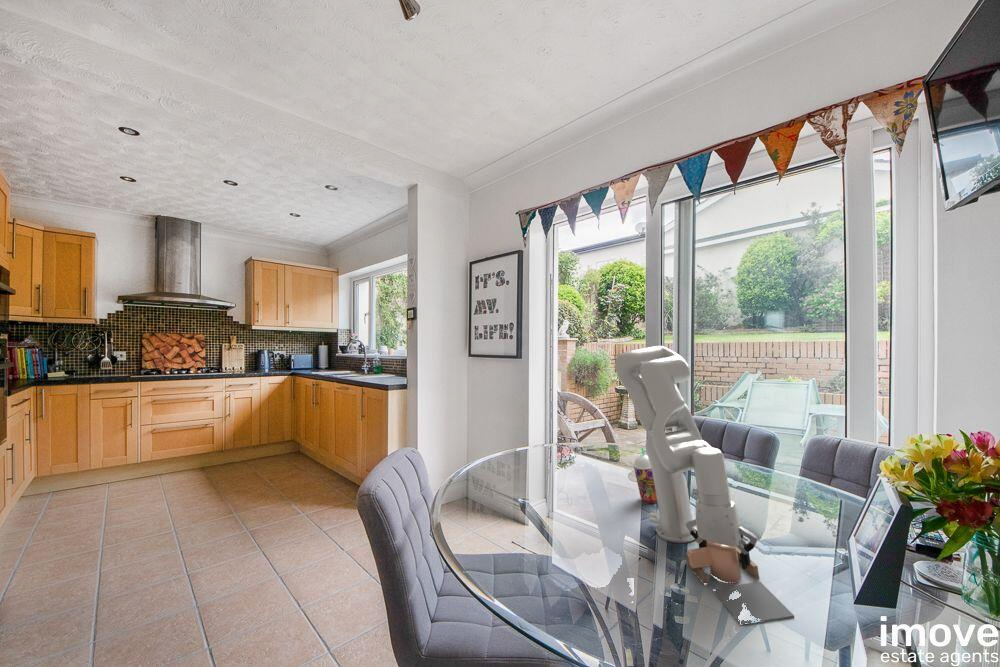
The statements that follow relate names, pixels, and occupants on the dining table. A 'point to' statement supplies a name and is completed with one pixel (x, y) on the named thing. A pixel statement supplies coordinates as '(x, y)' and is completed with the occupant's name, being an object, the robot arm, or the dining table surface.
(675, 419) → the robot arm
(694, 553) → the rounded block with tab
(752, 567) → the holder
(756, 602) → the mat
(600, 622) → the dining table surface
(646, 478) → the smoothie
